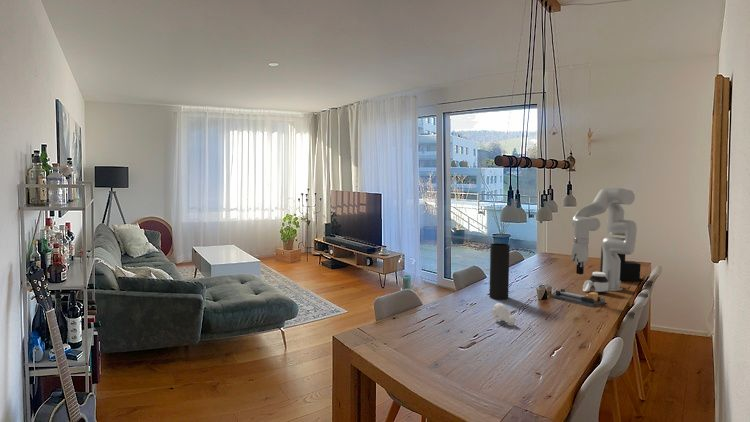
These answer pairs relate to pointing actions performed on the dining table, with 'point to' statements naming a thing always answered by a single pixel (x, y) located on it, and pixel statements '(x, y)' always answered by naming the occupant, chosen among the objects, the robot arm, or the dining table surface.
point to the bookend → (626, 269)
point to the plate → (577, 299)
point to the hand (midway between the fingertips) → (579, 273)
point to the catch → (592, 295)
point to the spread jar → (596, 283)
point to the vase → (499, 271)
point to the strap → (571, 294)
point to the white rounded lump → (502, 314)
